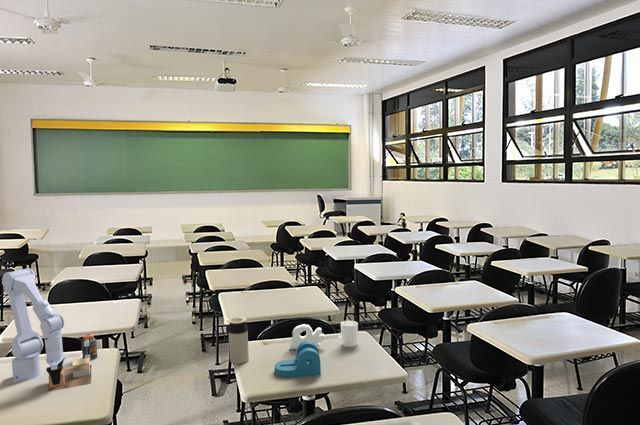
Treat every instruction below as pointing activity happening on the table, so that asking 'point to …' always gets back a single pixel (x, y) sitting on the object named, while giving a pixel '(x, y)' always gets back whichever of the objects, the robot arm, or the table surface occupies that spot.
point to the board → (72, 380)
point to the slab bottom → (81, 373)
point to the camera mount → (301, 362)
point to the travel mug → (238, 340)
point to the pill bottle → (89, 347)
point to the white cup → (349, 333)
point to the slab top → (80, 364)
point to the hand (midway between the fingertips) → (57, 380)
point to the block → (62, 380)
